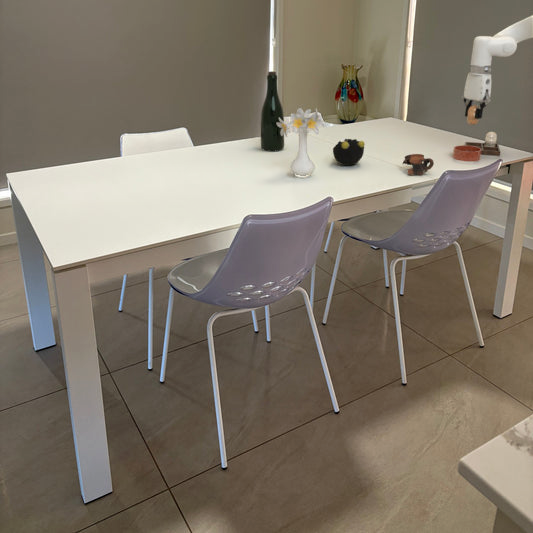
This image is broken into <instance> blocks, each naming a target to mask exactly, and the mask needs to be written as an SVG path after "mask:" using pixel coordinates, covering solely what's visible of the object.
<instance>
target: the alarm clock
mask: <svg viewBox="0 0 533 533" xmlns="http://www.w3.org/2000/svg"><path fill="white" fill-rule="evenodd" d="M365 144H366V143H365V142H364V140H358V139H356V138H354V139H352V138H345V139H343V141H340V140H339V141H338V142H337V144H335V145H334V147H332V154H333V157H334V159H335V160H336V162H338V163H339V164H340V165H342V164H343V165H342V166H353V164H354V165H356V164H358V162H359V161H360V160H361V159H362V158H363V156H364V153H365Z"/></svg>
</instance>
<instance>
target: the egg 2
mask: <svg viewBox="0 0 533 533" xmlns="http://www.w3.org/2000/svg"><path fill="white" fill-rule="evenodd" d="M497 138H498V134H497V133H496V132H495V131H488V132H487V133H486V134H485V139H484V143H485V144H484V146H485V147H495V146H496V144H497Z"/></svg>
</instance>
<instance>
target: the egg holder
mask: <svg viewBox="0 0 533 533" xmlns="http://www.w3.org/2000/svg"><path fill="white" fill-rule="evenodd" d="M484 144H485V142H473V141H472V142H471V141H465V142H464V145H467V146H475V147H479V148H481V149H482V152H481V156H495V157H496V156H497V157H500V156H501V149H500V145H499V143H496V146H495V147H485V146H484Z"/></svg>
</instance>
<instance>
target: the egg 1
mask: <svg viewBox="0 0 533 533" xmlns="http://www.w3.org/2000/svg"><path fill="white" fill-rule="evenodd" d="M476 109H478V105H477V104H472V106H471V107H470V108H469V109H468V115H467V117H466V122H467V123H468V125H470V126H475V125H476V124H478V123H479V121H480V119H475V114H476Z"/></svg>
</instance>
